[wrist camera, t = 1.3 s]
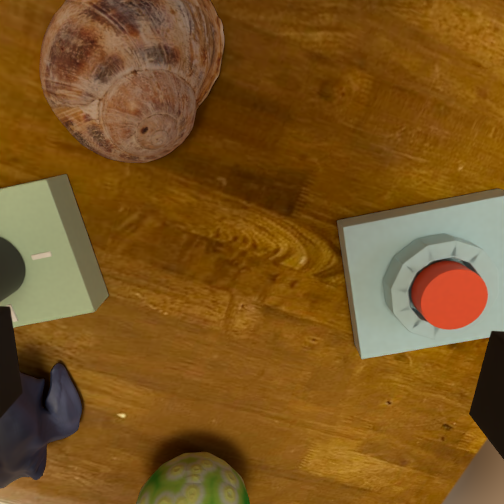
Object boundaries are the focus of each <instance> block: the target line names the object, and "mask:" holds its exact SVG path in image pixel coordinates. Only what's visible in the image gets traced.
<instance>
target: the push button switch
mask: <svg viewBox="0 0 504 504" xmlns="http://www.w3.org/2000/svg"><path fill="white" fill-rule="evenodd" d="M337 225H338V232H339V239H340V246H341V253H342V260H343V267H344V273H345V280H346V287H347V294H348V301H349V308H350V315H351V322H352V329H353V335H354V342H355V346H356V348H357V350H358V353H359V355H360V357H361V359H366V358H371V357H377V356H383V355H389V354H395V353H400V352H406V351H412V350H418V349H424V348H429V347H435V346H441V345H447V344H453V343H458V342H464V341H470V340H476V339H482V338H488V337H490V334H491V331H504V190H502V189H493V190H488V191H483V192H478V193H473V194H468V195H463V196H457V197H452V198H447V199H442V200H437V201H432V202H427V203H422V204H417V205H412V206H407V207H402V208H397V209H392V210H387V211H382V212H377V213H372V214H367V215H362V216H357V217H352V218H347V219H342V220H337ZM440 261H455V262H458V263H461V264H462V265H464V266H466V267H467V268H469V269H470V270H472V271H473V272H475V273H476V274H478V275H479V276H480V277H481V278H482V279H483V281H484V282H485V284H486V286H487V290H488V300H487V304H486V306H485V308H484V310H483V312H482V313H481V315H480V316H479V317H478V318H477V319H476V320H475V321H473V322H472V323H470V324H469V325H467V326H465V327H462V328H458V329H452V330H447V329H441V328H437V327H435V326H433V325H431V324H430V323H429V322H428V321H427V320H426V319H425V318H424V317H423V316H422V315H421V313H420V312H419V311H418V310H417V309H416V307H415V306H414V304H413V302H412V298H411V289H412V285H413V282H414V280H415V279H416V277H417V276H418V274H419V273H420V272H421V271H422V270H423V269H425V268H426V267H427V266H429V265H431V264H433V263H436V262H440Z"/></svg>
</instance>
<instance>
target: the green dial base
mask: <svg viewBox="0 0 504 504" xmlns="http://www.w3.org/2000/svg"><path fill="white" fill-rule="evenodd" d="M0 237H1V238H3V239H5V240H7V241H8V242H9V243H11V244H12V245H13V246H14V247H15V248H16V249H17V250H18V252H19V253H20V255H21V257H22V259H23V262H24V265H25V277H24V281H23V283H22V285H21V286H20V288H19V289H18V290H17V291H15V292H14V293H13V294H11V295H10V296H8V297H7V298H5V299H4V300H2V301H1V302H0V306H7V307H10V309H11V316H12V323H13V327H18V326H23V325H29V324H34V323H39V322H44V321H50V320H55V319H60V318H65V317H71V316H76V315H81V314H86V313H92V312H95V311H96V310H97V309H98V307H99V306H100V305H101V304H102V303H103V302H104V301H105V299H106V298H107V297H108V296H109V294H108V292H107V289H106V286H105V283H104V280H103V277H102V274H101V271H100V269H99V266H98V263H97V260H96V257H95V254H94V251H93V249H92V246H91V243H90V240H89V237H88V234H87V231H86V229H85V226H84V223H83V220H82V217H81V214H80V211H79V208H78V206H77V203H76V200H75V197H74V194H73V191H72V188H71V186H70V183H69V180H68V177H67V174H64V175H60V176H55V177H50V178H46V179H41V180H37V181H32V182H27V183H23V184H18V185H14V186H9V187H4V188H0Z"/></svg>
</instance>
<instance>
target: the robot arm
mask: <svg viewBox="0 0 504 504" xmlns="http://www.w3.org/2000/svg"><path fill="white" fill-rule="evenodd" d="M22 393H23V392H22V385H21V378H20V371H19V364H18V357H17V350H16V343H15V336H14V330H13V323H12V316H11V309H10V307H7V306H0V418H1V417H2V416H3V415H4V414H5V412H6V411H7V410H8V409H9V408H10V407H11V406H12V404H13V403H14V402H15V401H16V400H17V399H18V398H19V396H20V395H21V394H22ZM469 414H470V416H471V417H472V418H473V420H474V421H475V422H476V424H477V425H478V426H479V427H480V429H481V430H482V431H483V433H484V434H485V435H486V437H487V438H488V439H489V441H490V442H491V443H492V444H493V446H494V447H495V448H496V450H497V451H498V452H499V454H500V455H501V456H502V458H503V459H504V331H491V334H490V338H489V342H488V346H487V349H486V353H485V357H484V361H483V364H482V368H481V372H480V376H479V379H478V383H477V387H476V390H475V394H474V398H473V402H472V405H471V409H470V413H469Z"/></svg>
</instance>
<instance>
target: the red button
mask: <svg viewBox="0 0 504 504" xmlns="http://www.w3.org/2000/svg"><path fill="white" fill-rule="evenodd" d="M411 298H412V302H413V304H414V306H415V307H416V309H417V310H418V311H419V312H420V313H421V315H422V316H423V317H424V318H425V319H426V320H427V321H428V322H429V323H430V324H431V325H433V326H435V327H437V328H441V329H447V330H452V329H458V328H462V327H465V326H467V325H469V324H470V323H472V322H473V321H475V320H476V319H477V318H478V317H479V316H480V315H481V313H482V312H483V310H484V308H485V306H486V304H487V300H488V290H487V286H486V284H485V282H484V281H483V279H482V278H481V277H480V276H479V275H478V274H476V273H475V272H473V271H472V270H470V269H469V268H467V267H466V266H464V265H462V264H461V263H458V262H455V261H440V262H436V263H433V264H431V265H429V266H427V267H426V268H425V269H423V270H422V271H421V272H420V273H419V274H418V276H417V277H416V279H415V280H414V282H413V285H412V289H411Z"/></svg>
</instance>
